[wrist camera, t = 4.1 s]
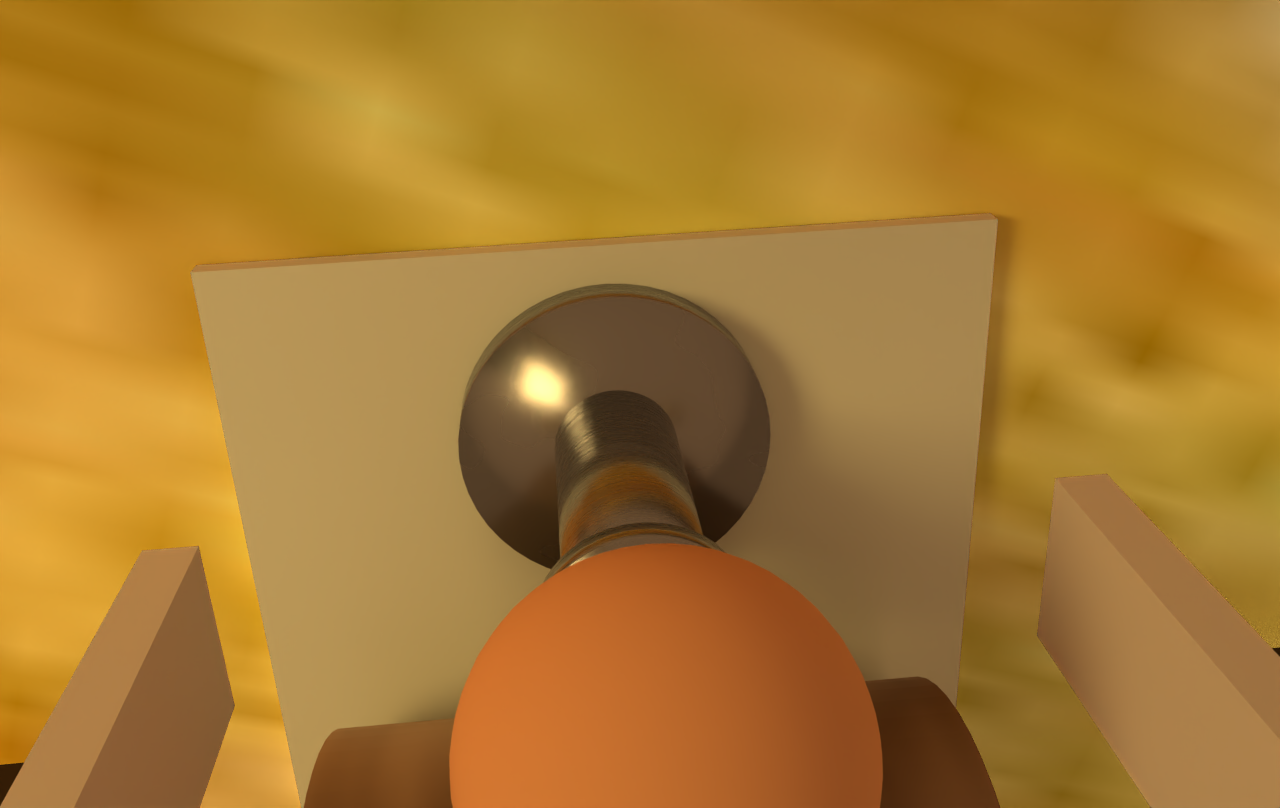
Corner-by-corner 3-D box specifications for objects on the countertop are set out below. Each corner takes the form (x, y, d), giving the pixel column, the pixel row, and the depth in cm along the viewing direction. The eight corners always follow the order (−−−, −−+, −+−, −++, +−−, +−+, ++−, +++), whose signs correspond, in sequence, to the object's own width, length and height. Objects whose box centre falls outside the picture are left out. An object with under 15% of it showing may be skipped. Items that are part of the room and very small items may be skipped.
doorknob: (476, 568, 23) (459, 810, 17) (444, 294, 21) (413, 466, 15) (762, 544, 24) (842, 774, 18) (762, 272, 21) (854, 432, 15)
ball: (478, 792, 17) (462, 1126, 13) (439, 485, 15) (405, 755, 11) (822, 760, 18) (927, 1075, 13) (831, 455, 15) (959, 703, 11)
